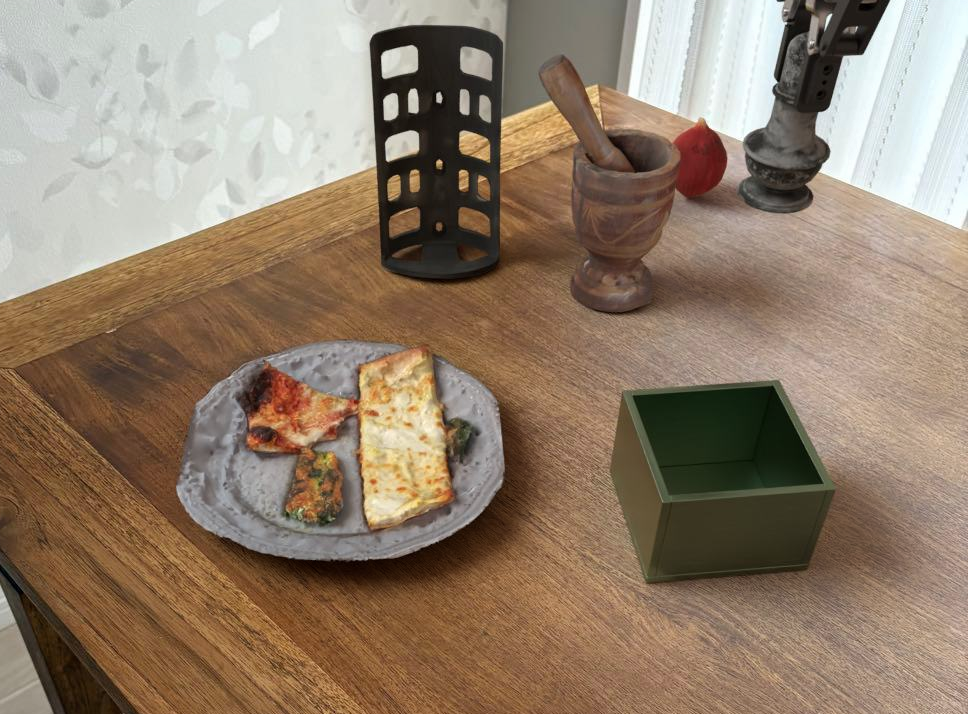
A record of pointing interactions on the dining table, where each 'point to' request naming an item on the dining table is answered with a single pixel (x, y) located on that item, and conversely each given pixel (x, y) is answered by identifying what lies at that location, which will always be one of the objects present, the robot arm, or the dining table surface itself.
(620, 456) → the box
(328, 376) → the food plate
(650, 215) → the mortar and pestle
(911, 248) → the dining table surface
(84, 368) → the dining table surface
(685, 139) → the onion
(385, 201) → the holder
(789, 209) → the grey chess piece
